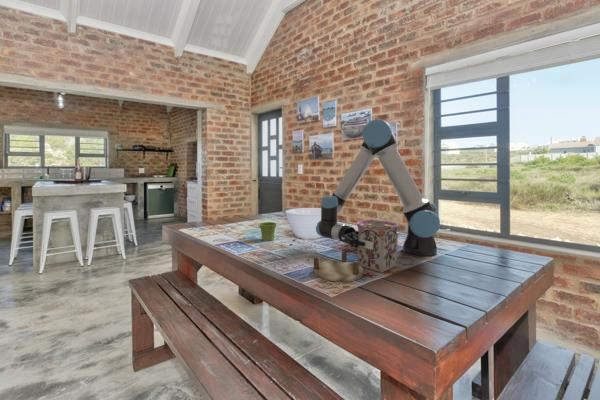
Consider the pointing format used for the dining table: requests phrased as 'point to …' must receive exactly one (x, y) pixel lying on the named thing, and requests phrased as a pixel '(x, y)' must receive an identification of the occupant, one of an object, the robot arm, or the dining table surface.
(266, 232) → the plant pot
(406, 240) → the robot arm
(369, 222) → the bowl of food
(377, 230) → the decorative jar
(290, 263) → the dining table surface
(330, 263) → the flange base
